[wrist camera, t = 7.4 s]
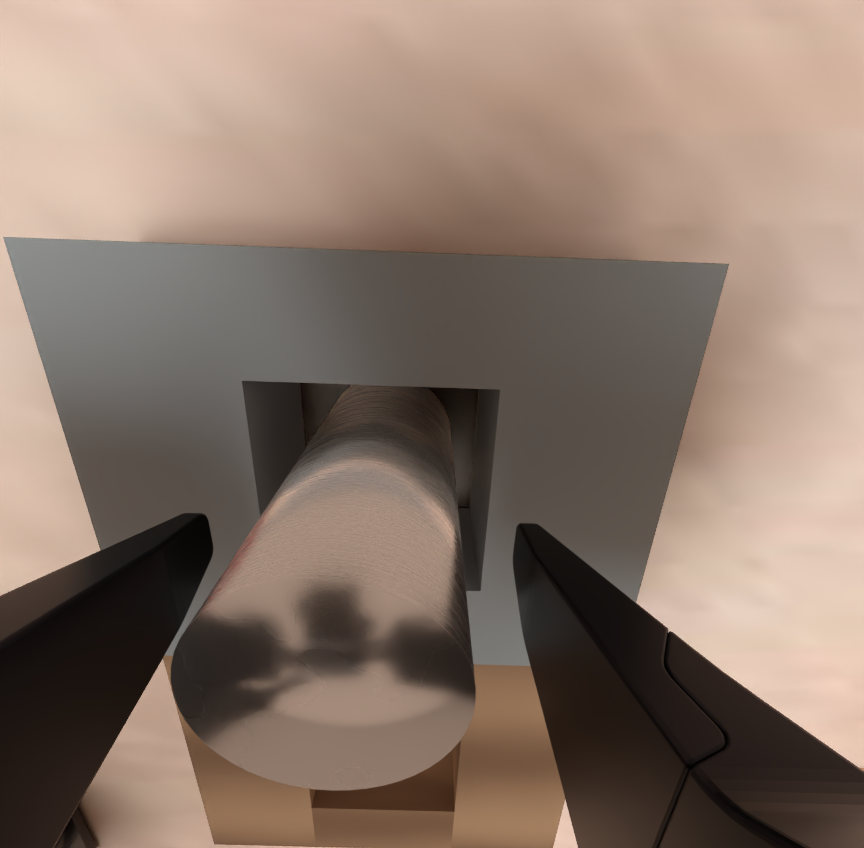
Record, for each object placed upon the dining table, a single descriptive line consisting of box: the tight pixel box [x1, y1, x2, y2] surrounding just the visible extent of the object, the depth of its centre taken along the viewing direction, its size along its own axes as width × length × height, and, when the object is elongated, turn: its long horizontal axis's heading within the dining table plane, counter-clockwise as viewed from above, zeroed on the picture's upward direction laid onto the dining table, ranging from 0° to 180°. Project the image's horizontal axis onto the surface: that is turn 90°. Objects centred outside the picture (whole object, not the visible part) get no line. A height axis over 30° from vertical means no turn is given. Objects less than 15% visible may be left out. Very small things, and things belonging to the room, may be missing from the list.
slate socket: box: [3, 237, 729, 666], centre depth 12 cm, size 11×14×4 cm
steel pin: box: [171, 385, 476, 791], centre depth 10 cm, size 4×4×9 cm
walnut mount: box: [163, 655, 565, 848], centre depth 17 cm, size 11×14×3 cm
